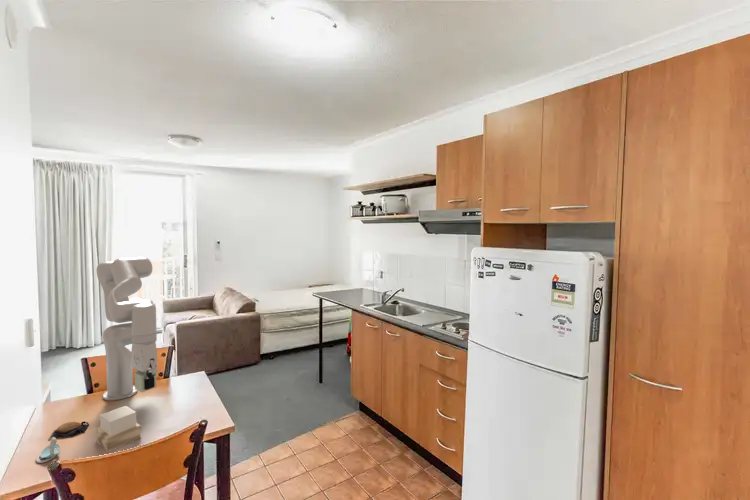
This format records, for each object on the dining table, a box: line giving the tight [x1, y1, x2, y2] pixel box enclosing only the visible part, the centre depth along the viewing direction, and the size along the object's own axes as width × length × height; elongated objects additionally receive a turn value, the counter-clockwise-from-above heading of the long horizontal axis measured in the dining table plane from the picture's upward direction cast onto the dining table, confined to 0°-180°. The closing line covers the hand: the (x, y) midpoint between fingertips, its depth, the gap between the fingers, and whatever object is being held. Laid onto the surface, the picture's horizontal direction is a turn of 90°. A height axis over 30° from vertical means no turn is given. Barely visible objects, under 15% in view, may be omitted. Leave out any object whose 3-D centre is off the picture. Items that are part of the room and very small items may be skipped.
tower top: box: [99, 405, 137, 436], centre depth 128 cm, size 8×8×5 cm
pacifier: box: [35, 437, 61, 464], centre depth 118 cm, size 7×6×6 cm
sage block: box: [134, 368, 157, 393], centre depth 133 cm, size 5×5×6 cm
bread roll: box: [47, 421, 90, 442], centre depth 133 cm, size 11×8×4 cm
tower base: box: [95, 422, 142, 453], centre depth 129 cm, size 10×10×5 cm
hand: (145, 385), depth 133 cm, fingers closed on sage block, 5 cm apart
